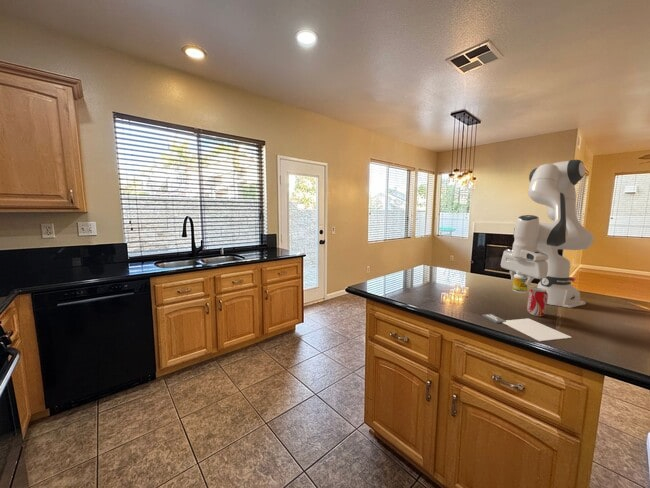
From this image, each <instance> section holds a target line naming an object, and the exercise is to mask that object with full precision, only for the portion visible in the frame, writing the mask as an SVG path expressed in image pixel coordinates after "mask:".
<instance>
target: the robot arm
mask: <svg viewBox="0 0 650 488" xmlns="http://www.w3.org/2000/svg"><path fill="white" fill-rule="evenodd" d="M585 173H586V165H585V163H584V162H583V161H582V160H580V159H570V160H566V161H557V162H553V163H544V164H542V165H541V164H540V165H539V166H538V167H535V168H533V169H532V170H531V171H530V173H529V177H528V179H529V184H528V190H527V191H528V192H527V194H528V197H529V198H530V199H531V200H532V201H533V202H535V203H537V204H540V205H544V206H547V212H546V213H547V217H548V218H549V219H550V220H551V221H553V222H540V218H539V216H536V215H534V214H533V215H531V214H525V215H519V216H518V217H517V218H516V219H517V220H516V222H515V226H514V227H513V228H514V229H513V230H514V231H513V238H514V241H513V243H512V248H511V249H510V248H506V249H505V250H504V251H503V253H502V257H501V261H500V267H501V268H502V269H505V270H509V274H510V279H511V281H513V279H514V275H515V274H517V273H516V270H517V271H520V272H521V274H525V275H527V278H528V279H527V281H524V282H525V283H524V284H525V285H527V286H531V284H532V281H533V280H534V279H539V282H538V283H537V287H536V288H542V289H545V290H547V291H546V292H547V294H548V300H547V305H551V306H559V307H564V308H567V309H568V308H569V309H570V308H575V307H579V306H585V305H586V301H584V300H582V299H581V292H580V291H579V290H578V289H577V288H575V287H574V286H573V285H572V282H575V281H576V277H572V276H570V271H571V265H572V264H571V262H570V260H569V259H568V258H566V257H564V256H562V255H561V254H559V252H558V250H566V251H580V250H581V251H583V250H588V249H589V248H590V247H592V245H593V243H594V241H595V240H594V235H593V233H592V232H591V230H588V229H587V228H585V226H583V225H582V224H581V222H580V221H579V220H578V217H577V209H576V208H577V195H576V194H577V193H576V185H577V184H578V183H579V182H580V181H581V180H582V179H583V178H584V177H585Z"/></svg>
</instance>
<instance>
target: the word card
mask: <svg viewBox="0 0 650 488" xmlns="http://www.w3.org/2000/svg"><path fill="white" fill-rule="evenodd" d="M481 317H483V318H486V319H487V320H489V321H491V322H493V323H495V324H499V323H502V322H506V321H505V319H503V318H501V317H498V316H497V315H495V314H493V313H487V314H481ZM502 324H503V323H502Z"/></svg>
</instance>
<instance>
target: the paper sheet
mask: <svg viewBox="0 0 650 488" xmlns="http://www.w3.org/2000/svg"><path fill="white" fill-rule="evenodd" d="M504 320H505V319H504ZM505 321H506V322H502V324H503V325H507V326H508V327H509V328H512V329H514V330H516V331H518V332H520V333H522V334H524V335H526V336H529V338H532V339H533V340H536V341H538V342H546V341H555V340H564V339H573V337H572V336H570V335H568V334H565V333H564V332H562V331H560V330H556V329H554V328H552V327H549V326H547V325H545V324H542V323H540V322H538V321H535V320H533V319H531V318H518V319H507V320H505Z"/></svg>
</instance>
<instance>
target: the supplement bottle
mask: <svg viewBox="0 0 650 488" xmlns="http://www.w3.org/2000/svg"><path fill="white" fill-rule="evenodd" d="M527 279H528V278H527V275H525V274H521V272H520V271H517V270H516V273H515V275H514V279H513V280H512V291H514V292H515V293H521V294H525V293H527V292H528V291H527V290H528V285H525V284H524V283H525V282H524V281H527Z"/></svg>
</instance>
